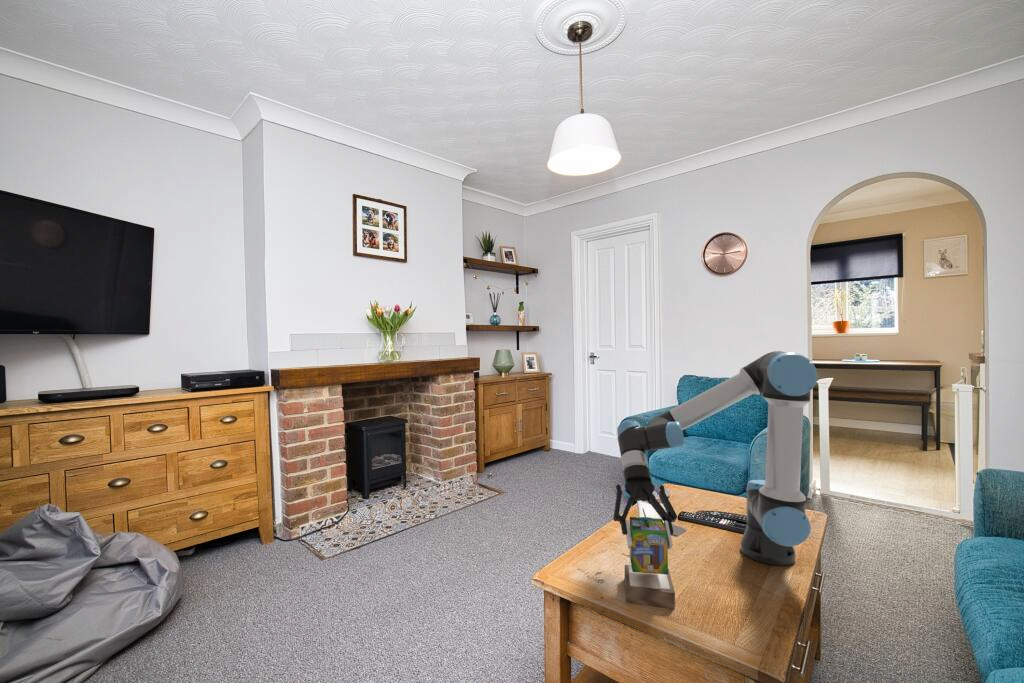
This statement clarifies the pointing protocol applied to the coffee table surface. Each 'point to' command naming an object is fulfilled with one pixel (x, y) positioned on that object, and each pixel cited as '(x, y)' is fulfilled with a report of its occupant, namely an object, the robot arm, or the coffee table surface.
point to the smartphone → (677, 530)
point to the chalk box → (648, 545)
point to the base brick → (649, 588)
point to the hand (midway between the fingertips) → (650, 547)
